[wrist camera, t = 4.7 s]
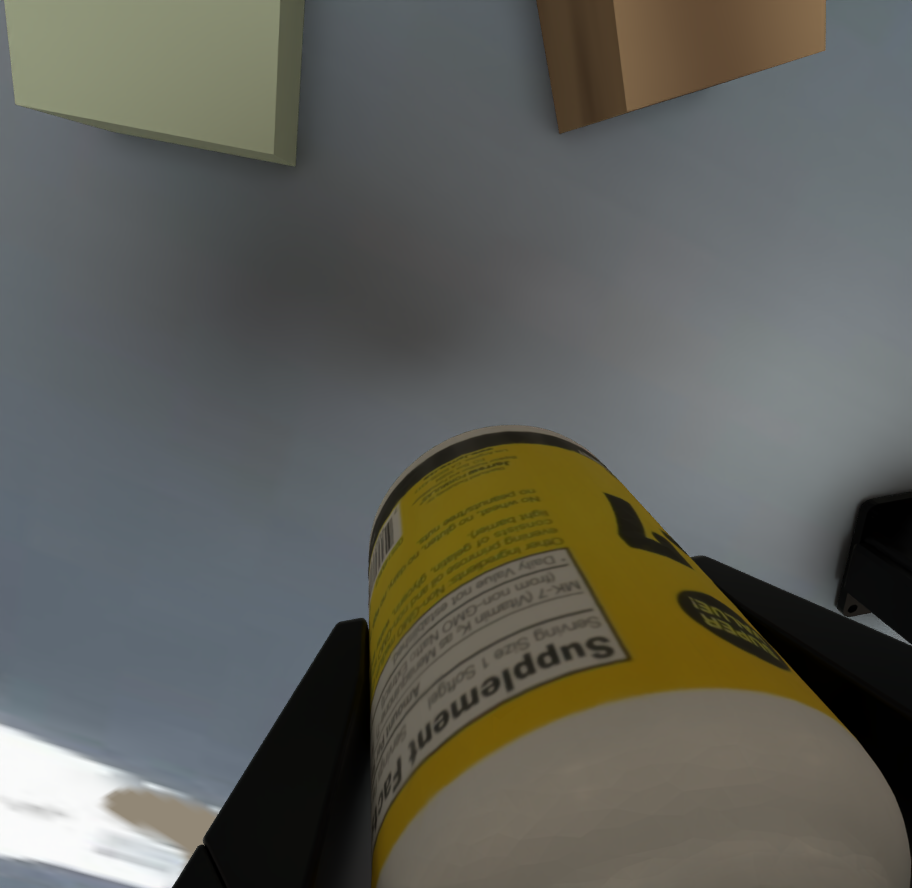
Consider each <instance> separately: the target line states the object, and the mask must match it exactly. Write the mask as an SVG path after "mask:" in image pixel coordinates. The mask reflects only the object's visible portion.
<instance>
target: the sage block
mask: <svg viewBox="0 0 912 888" xmlns="http://www.w3.org/2000/svg"><path fill="white" fill-rule="evenodd" d="M4 3H5V12H6V21H7V31H8V40H9V49H10V59H11V68H12V77H13V87H14V96H15V105H19V106H22V107H26V108H30V109H33V110H37V111H40V112H44V113H47V114H51V115H54V116H58V117H62V118H65V119H69V120H72V121H76V122H79V123H83V124H86V125H90V126H94V127H97V128H101V129H104V130H108V131H111V132H116V133H122V134H127V135H132V136H137V137H143V138H148V139H153V140H158V141H163V142H169V143H174V144H179V145H184V146H190V147H195V148H200V149H205V150H211V151H216V152H221V153H226V154H232V155H237V156H242V157H247V158H253V159H258V160H263V161H268V162H274V163H279V164H284V165H289V166H295V167H296V149H297V131H298V113H299V95H300V77H301V59H302V41H303V23H304V6H305V0H4Z"/></svg>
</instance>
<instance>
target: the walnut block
mask: <svg viewBox="0 0 912 888" xmlns="http://www.w3.org/2000/svg"><path fill="white" fill-rule="evenodd" d="M536 1H537V7H538V13H539V19H540V25H541V30H542V36H543V42H544V48H545V53H546V59H547V65H548V71H549V76H550V82H551V88H552V94H553V100H554V105H555V111H556V117H557V123H558V128H559V134H561V133H564V132H567V131H571V130H574V129H577V128H580V127H584V126H587V125H590V124H593V123H596V122H600V121H603V120H606V119H609V118H612V117H616V116H619V115H622V114H625V113H629V112H632V111H635V110H638V109H641V108H645V107H648V106H651V105H654V104H657V103H661V102H664V101H667V100H670V99H674V98H677V97H680V96H683V95H686V94H690V93H693V92H696V91H699V90H703V89H706V88H709V87H712V86H715V85H718V84H721V83H725V82H728V81H731V80H734V79H737V78H740V77H743V76H746V75H750V74H753V73H756V72H759V71H762V70H765V69H768V68H772V67H775V66H778V65H781V64H784V63H787V62H790V61H793V60H797V59H800V58H803V57H806V56H809V55H812V54H815V53H818V52H822V51H825V34H826V0H536Z"/></svg>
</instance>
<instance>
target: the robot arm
mask: <svg viewBox="0 0 912 888" xmlns="http://www.w3.org/2000/svg"><path fill="white" fill-rule="evenodd" d="M690 558H691V559H692V560H693V561H694V562H695V563H696V564H697V565H698V566H699V568H700V569H701V570H702V571H703V572H704V573H705V574H706V575H707V576H708V577H709V578H710V579H711V580H712V582H713V583H714V584H715V585H716V586H717V587H718V588H719V589H720V591H721V592H722V593H723V594H724V595H725V596H726V597H727V598H728V599H729V600H730V601H731V602H732V603H733V604H734V605H735V606H736V608H737V609H738V610H739V611H740V612H741V613H742V614H743V615H744V617H745V618H746V619H747V620H748V621H749V622H750V623H751V625H752V626H753V627H754V628H755V629H756V630H757V631H758V632H759V633H760V635H761V636H762V637H763V638H764V639H765V640H766V641H767V642H768V643H769V644H770V645H771V646H772V647H773V648H774V649H775V650H776V651H777V652H778V653H779V655H780V656H781V657H782V658H783V659H784V660H785V661H786V662H787V663H788V665H789V666H790V667H791V668H792V669H793V670H794V671H795V672H796V673H797V675H798V676H799V677H800V678H801V679H802V680H803V681H804V682H805V683H806V684H807V685H808V686H809V688H810V689H811V690H812V691H813V692H814V693H815V694H816V695H817V696H818V697H819V698H820V700H821V701H822V702H823V703H824V704H825V705H826V706H827V707H828V708H829V709H830V710H831V711H832V713H833V714H834V715H835V716H836V717H837V718H838V719H839V720H840V721H841V722H842V723H843V725H844V726H845V727H846V728H847V729H848V730H849V731H850V732H851V733H852V734H853V735H854V737H855V738H856V739H857V740H858V742H859V743H860V744H861V745H862V747H863V748H864V749H865V751H866V752H867V753H868V755H869V756H870V757H871V759H872V760H873V761H874V763H875V764H876V765H877V767H878V768H879V770H880V771H881V773H882V775H883V776H884V778H885V780H886V781H887V783H888V785H889V786H890V788H891V790H892V792H893V794H894V796H895V798H896V801H897V803H898V806H899V809H900V811H901V814H902V817H903V820H904V823H905V828H906V833H907V837H908V842H909V849H910V856H911V878H910V888H912V646H911V645H909V644H906V643H904V642H902V641H899V640H897V639H895V638H893V637H890V636H888V635H886V634H883V633H881V632H879V631H876V630H874V629H872V628H870V627H867V626H865V625H863V624H860V623H858V622H856V621H854V620H851V619H849V618H847V617H852V616H857V615H862V614H867V613H871V612H872V613H873V614H874V615H876V616H877V617H878V618H879V619H881V620H882V621H883V622H884V623H885V624H887V625H888V626H889V627H890V628H892V629H893V630H894V631H895V632H897V633H898V634H899V635H900V636H902V637H903V638H904V639H905V640H907V641H908V642H909V643H910V644H912V492H909V493H904V494H898V495H893V496H887V497H882V498H876V499H871V500H868V501H866V502H865V503H864V504H863V505H862V506H861V508H860V510H859V514H858V518H857V522H856V527H855V531H854V535H853V539H852V544H851V548H850V552H849V557H848V561H847V565H846V569H845V574H844V578H843V582H842V587H841V591H840V595H839V599H838V604H837V609H838V610H839V611H840V612H841V613H842V614H843V615H844V616H847V617H844V616H842V615H840V614H837V613H835V612H833V611H831V610H828V609H826V608H824V607H821V606H819V605H817V604H815V603H812V602H810V601H808V600H805V599H803V598H801V597H798V596H796V595H794V594H792V593H789V592H787V591H785V590H782V589H780V588H778V587H775V586H773V585H771V584H769V583H766V582H764V581H762V580H759V579H757V578H755V577H753V576H750V575H748V574H746V573H743V572H741V571H739V570H736V569H734V568H732V567H730V566H727V565H725V564H723V563H720V562H718V561H716V560H714V559H711V558H709V557H706V556H694V557H690ZM203 843H204V845H205V846H204V845H199V846H198V847H197V848H196V850H195V852H194V853H193V855H192V857H191V858H190V860H189V861H188V863H187V865H186V866H185V868H184V869H183V871H182V873H181V874H180V876H179V878H178V879H177V881H176V882H175V884H174V885H173V887H172V888H371V875H372V867H371V778H370V690H369V629H368V625H367V622H366V620H365V619H364V618H357V619H352V620H346V621H341V622H339V623H337V624H336V625H335V627H334V628H333V630H332V632H331V633H330V635H329V637H328V638H327V640H326V641H325V643H324V645H323V646H322V648H321V649H320V651H319V653H318V654H317V656H316V657H315V659H314V661H313V662H312V664H311V666H310V667H309V669H308V670H307V672H306V674H305V675H304V677H303V678H302V680H301V682H300V683H299V685H298V686H297V688H296V690H295V691H294V693H293V694H292V696H291V698H290V699H289V701H288V703H287V704H286V706H285V707H284V709H283V711H282V712H281V714H280V715H279V717H278V719H277V720H276V722H275V723H274V725H273V727H272V728H271V730H270V732H269V733H268V735H267V736H266V738H265V740H264V741H263V743H262V744H261V746H260V748H259V749H258V751H257V752H256V754H255V756H254V757H253V759H252V761H251V762H250V764H249V765H248V767H247V769H246V770H245V772H244V773H243V775H242V777H241V778H240V780H239V781H238V783H237V785H236V786H235V788H234V790H233V791H232V793H231V794H230V796H229V798H228V799H227V801H226V802H225V804H224V806H223V807H222V809H221V810H220V812H219V814H218V815H217V817H216V818H215V820H214V822H213V823H212V825H211V827H210V828H209V830H208V831H207V833H206V835H205V836H204V838H203Z"/></svg>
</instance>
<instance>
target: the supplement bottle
mask: <svg viewBox="0 0 912 888" xmlns="http://www.w3.org/2000/svg"><path fill="white" fill-rule="evenodd" d="M368 578H369V603H368V605H369V690H370V778H371V867H372V875H371V888H910V878H911V856H910V849H909V842H908V837H907V833H906V828H905V823H904V820H903V817H902V814H901V811H900V809H899V806H898V803H897V801H896V798H895V796H894V794H893V792H892V790H891V788H890V786H889V785H888V783H887V781H886V780H885V778H884V776H883V775H882V773H881V771H880V770H879V768H878V767H877V765H876V764H875V763H874V761H873V760H872V759H871V757H870V756H869V755H868V753H867V752H866V751H865V749H864V748H863V747H862V745H861V744H860V743H859V742H858V740H857V739H856V738H855V737H854V735H853V734H852V733H851V732H850V731H849V730H848V729H847V728H846V727H845V726H844V725H843V723H842V722H841V721H840V720H839V719H838V718H837V717H836V716H835V715H834V714H833V713H832V711H831V710H830V709H829V708H828V707H827V706H826V705H825V704H824V703H823V702H822V701H821V700H820V698H819V697H818V696H817V695H816V694H815V693H814V692H813V691H812V690H811V689H810V688H809V686H808V685H807V684H806V683H805V682H804V681H803V680H802V679H801V678H800V677H799V676H798V675H797V673H796V672H795V671H794V670H793V669H792V668H791V667H790V666H789V665H788V663H787V662H786V661H785V660H784V659H783V658H782V657H781V656H780V655H779V653H778V652H777V651H776V650H775V649H774V648H773V647H772V646H771V645H770V644H769V643H768V642H767V641H766V640H765V639H764V638H763V637H762V636H761V635H760V633H759V632H758V631H757V630H756V629H755V628H754V627H753V626H752V625H751V623H750V622H749V621H748V620H747V619H746V618H745V617H744V615H743V614H742V613H741V612H740V611H739V610H738V609H737V608H736V606H735V605H734V604H733V603H732V602H731V601H730V600H729V599H728V598H727V597H726V596H725V595H724V594H723V593H722V592H721V591H720V589H719V588H718V587H717V586H716V585H715V584H714V583H713V582H712V580H711V579H710V578H709V577H708V576H707V575H706V574H705V573H704V572H703V571H702V570H701V569H700V568H699V566H698V565H697V564H696V563H695V562H694V561H693V560H692V559H691V558H690V557H689V556H688V555H687V554H686V552H685V551H684V550H683V549H682V548H681V547H680V546H679V545H678V544H677V543H676V542H675V541H674V540H673V539H672V538H671V537H670V536H669V535H668V533H667V532H666V531H665V530H664V529H663V528H662V527H661V526H660V525H659V523H658V522H657V521H656V520H655V519H654V518H653V517H652V516H651V515H650V514H649V513H648V511H647V510H646V509H645V508H644V507H643V506H642V505H641V504H640V503H639V502H638V501H637V500H636V498H635V497H634V496H633V495H632V494H631V493H630V492H629V491H628V490H627V488H626V487H625V486H624V485H623V484H622V483H621V482H620V481H619V480H618V479H617V478H616V477H615V476H614V475H613V474H612V473H611V472H610V471H609V470H608V469H607V467H606V466H605V465H604V464H603V463H602V462H600V461H599V460H598V459H597V458H596V457H595V456H594V455H593V454H592V453H591V452H589V451H588V450H587V449H586V448H584V447H583V446H581V445H579V444H578V443H576V442H574V441H573V440H571V439H569V438H567V437H565V436H562V435H560V434H558V433H555V432H552V431H550V430H546V429H542V428H538V427H531V426H522V425H501V426H492V427H485V428H481V429H476V430H472V431H468V432H465V433H463V434H460V435H457V436H455V437H452V438H450V439H448V440H446V441H444V442H442V443H440V444H439V445H437V446H435V447H433V448H432V449H430V450H429V451H427V452H426V453H425V454H423V455H422V456H421V457H419V458H418V459H417V460H416V461H415V462H413V463H412V464H411V465H410V466H409V467H408V468H407V469H406V470H405V471H404V472H403V473H402V474H401V475H400V476H399V477H398V479H397V480H396V481H395V482H394V484H393V485H392V486H391V488H390V489H389V491H388V492H387V494H386V496H385V497H384V499H383V501H382V503H381V505H380V507H379V509H378V511H377V514H376V516H375V519H374V523H373V527H372V531H371V536H370V543H369V568H368Z"/></svg>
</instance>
